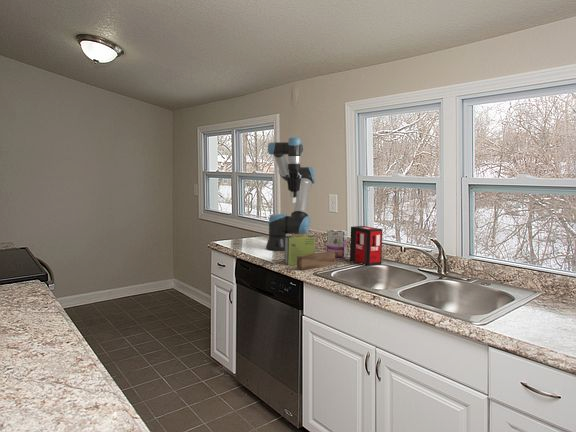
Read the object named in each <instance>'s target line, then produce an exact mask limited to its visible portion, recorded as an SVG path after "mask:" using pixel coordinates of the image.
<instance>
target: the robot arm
mask: <svg viewBox="0 0 576 432" xmlns="http://www.w3.org/2000/svg"><path fill="white" fill-rule="evenodd" d="M301 140H302V139H301V138H300V137H289V138H288V142H286V141H285V142H278V141H277V142H275V141H274V142H272V141H271V142H269V143H268V145H267V153H268V154H269V155H271V156H272V155H273V157H274V160H275V162H276V165H277V167H278V174H279V176H280V177H281V178H282V180H284V181H285V182H287V189H288V191H290V203H292V204H294V209H293V211H292V212H291V214H290V215H288V214H287V213H277V214H271V215H270V216H269V218H268V239H267V242H266V245H265V249H266V250H267V249H268V251H273V250H275V251H276V252H277V251H280V252H282V251H285V235H307V234H308V233H309V230H310V226H311V225H310V224H311V217H310V216H309V214H308V213H307V212H308V211H307V210H308V203H309V196H310V188H312V186H313V185H314V184H315V183H316V181H315V180H316V178H315V179H314V176H315V169H314V168H313V166H305V167H304V166H301V155H302V154H303V152H304V150H305V149H304V148H305V147H304V145H303V143H302V141H301ZM287 156H288V157H287Z"/></svg>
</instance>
